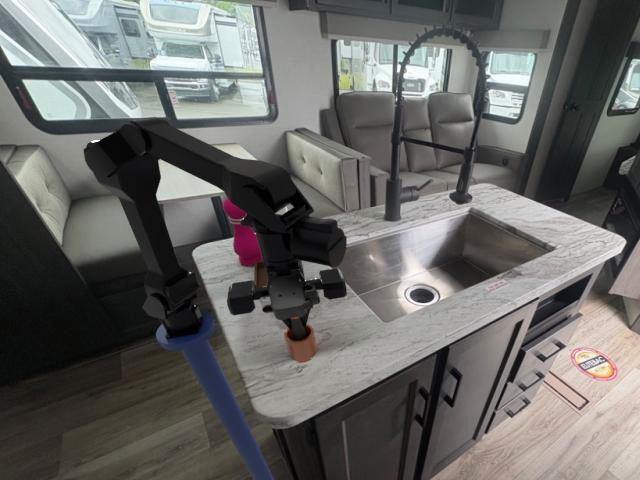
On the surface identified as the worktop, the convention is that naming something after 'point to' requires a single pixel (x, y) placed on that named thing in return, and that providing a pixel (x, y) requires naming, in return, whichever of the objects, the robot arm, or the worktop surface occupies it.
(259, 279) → the tray
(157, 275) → the robot arm
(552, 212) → the worktop surface
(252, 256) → the pepper mill
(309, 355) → the pen cup
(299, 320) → the marker
